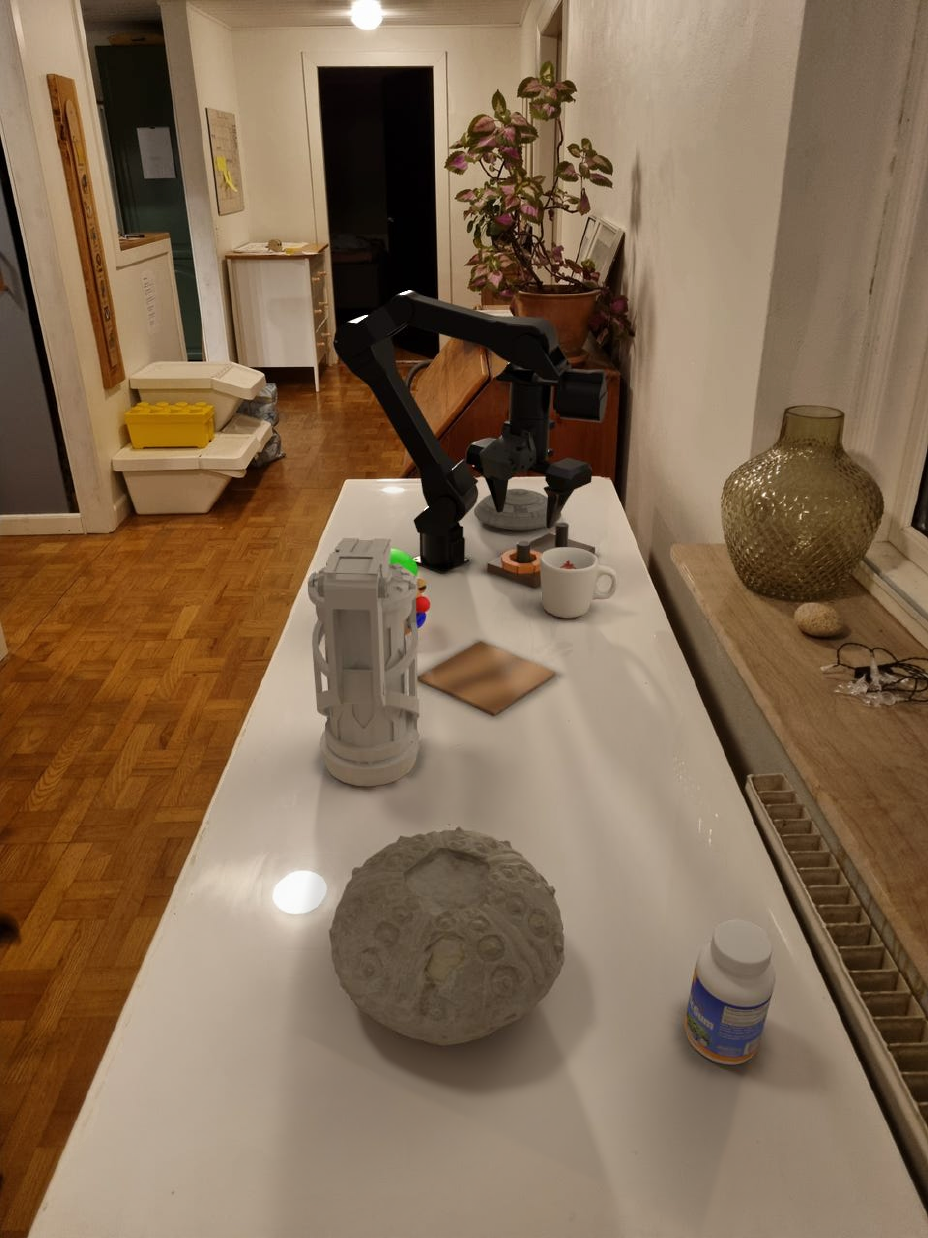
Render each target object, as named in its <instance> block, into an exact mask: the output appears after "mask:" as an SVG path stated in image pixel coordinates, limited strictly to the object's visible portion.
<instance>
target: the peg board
mask: <svg viewBox="0 0 928 1238" xmlns="http://www.w3.org/2000/svg"><path fill="white" fill-rule="evenodd" d="M554 532H555V533H551V532H547V533H546V534H544V535H541V536H540V537H537V538H536V539H534V540H531V541H527V540H519V541H517V543H516V549H517V557H516V559H515V560H513V561H514V562H517V563H532V562H534V561H531V560H530V550H533V551H536V552H539V553H542V554H543V553H544V552H545V551H547V550H550V549H553V548H560V547H571V548H579V549H583V550H586V551H589V552H591V553H593V554H594V555H595V556H596V547H595V546H592V545H590V544H587V543H582V542H580V541H577V540H574V539H571V538H570V539H569V523H567V522H561V521H560V522H557V523H555V531H554ZM486 572H487V573H489V574H491V575H495V576H497V577H500V578H504V579H507V580H509V581H512V582H515V583H517V584H520V585H523V586H526V587H530V588H532V589H537V588H539V587H541V577H540V571H538V572H536V573H534V572H533V573H525V574H518V572H517V573H514V572H511V571H508V570H505V569H504V568H503V567H502V564H501V555H500V556H498V557H496V558H493V559H492V560H490V561H488V562H487V563H486Z"/></svg>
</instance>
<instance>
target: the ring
mask: <svg viewBox="0 0 928 1238" xmlns="http://www.w3.org/2000/svg"><path fill="white" fill-rule="evenodd" d="M541 555H542V553H539V552H536V551H533V550H530V560H531V561H534V562H532V563H517V562H514V561H513V560H515V559H516V557H517V548H515V549H510V550H507V551H505V552H503V553H502V554H501V555H500V556H501V564H502V567H503V568H504V569H505V570H508V571H511V572H514V573H517V572H518V574H525V573H533V572H534V573H536V572H538V571H540V556H541Z"/></svg>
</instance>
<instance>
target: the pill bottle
mask: <svg viewBox="0 0 928 1238" xmlns="http://www.w3.org/2000/svg"><path fill="white" fill-rule="evenodd" d="M772 955H773V943H772V940H771V938H770V936H769V935H768V933H767V932H766V931H765V930H764V929H763V928H761V927H759V926H758V925H757V924H755V923H753V922H750V921H748V920H744V919H739V918H736V919H735V918H734V919H727V920H724V921H722V922H720V923H719V924H717V926H715V928H714V930H713V933H712V937H711V940H710V941H709V942H707V943H705V944H704V945H703V946H702V947H701V949H700V951H699V952H698V956H697V958H696V961H695V968H694V972H693V976H692V982H691V987H690V992H689V997H688V1002H687V1008H686V1014H685V1019H684V1028H685V1034H686V1037H687V1039H688V1041H689V1043H690V1044H691V1046H692V1047H693V1048H694V1049H695V1050H696V1051H697V1052H698V1053H699V1054H700V1055H702V1056H703V1057H705V1058H706V1059H708V1060H710V1061H713V1062H715V1063H719V1064H724V1065H730V1066H731V1065H740V1064H743V1063H746V1062H748V1061H749V1060H750V1059H752V1058H753V1057H754V1056H755V1055H756V1053H757V1052H758V1049H759V1046H760V1043H761V1039H762V1035H763V1031H764V1027H765V1023H766V1021H767V1020H766V1019H767V1015H768V1013H769V1008H770V1004H771V1001H772V997H773V994H774V989H775V985H776V971H775V967H774V965H773V963H772Z"/></svg>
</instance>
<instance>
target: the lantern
mask: <svg viewBox="0 0 928 1238" xmlns="http://www.w3.org/2000/svg"><path fill="white" fill-rule="evenodd" d="M391 540H392V539H391V538H374V539H360V538H359V537H343V538H342V539H341V540H340V541H339V543H337V545H336V546H335V548H334V550H333V552H332V553H330V554H329V555H328V557H327V560H326V562H325V566H324V567H322V568H320V569H319V570H318V572H317V571H314V572H312V573H310V575H309V577H308V579H307V594H308V599H309V600H310V601H311V602H312V604H313V605H314V606H315V613H316V617H317V621H316V623H315V625H314V628H313V631H312V635H311V636H312V637H311V639H312V640H311V645H312V646H311V648H312V659H313V660H312V662H313V672H314V686H315V700H316V711H317V713H319V714H320V715H321V716H324V717H326V721H325V723H324V731H323V732H322V734H321V735H320V738H319V748H320V752H321V756H322V760H323V763H324V765H325V767H326V769H327V771H328V773H329V774H330V775H332V777H333V778H335V779H336V780H339V782H341V783H344V784H348V785H351V786H355V787H368V788H369V787H376V786H384V785H387V784H391V783H394V782H396V781H398V780H400V779H401V778H403V777H404V776H406V775H408V774H409V773H410V771H411V770H412V768H413V767H414V766H415V763H416V760H417V757H418V753H419V751H420V742H421V739H420V738H421V737H420V733H419V730H418V719H419V718H420V699H419V698H418V646H419V628H418V627H417V623H416V594H417V578H418V575H417V576H415V575H414V574H412V573H411V572H410V571H409V570H408V569H405V568H403V566H402V565H401V564H398V563H394V565H393V564H390V558H391V549H392V545H391V544H392V543H391V542H392V541H391ZM405 620H406V622H407V623H408V625H409V627H410V630H411V632H410V634H411V640H410V644H409V647H408V648H407V639H406V635H405ZM323 637H324V654H325V655H324V656H325V658H324V657H323V654H322V652H321V649H320V644H321V642H322V639H323ZM407 671H408V672H407ZM322 675H323V676H325V677H326V682H327V690H323V681H322Z"/></svg>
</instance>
